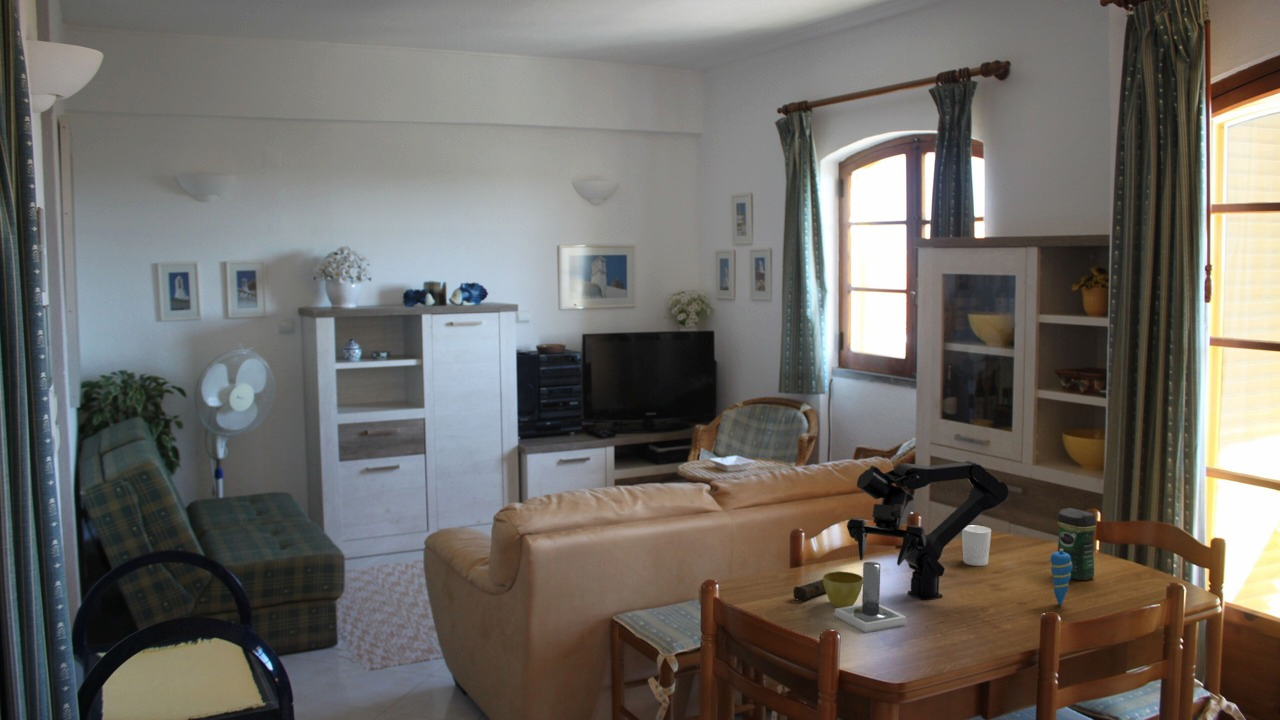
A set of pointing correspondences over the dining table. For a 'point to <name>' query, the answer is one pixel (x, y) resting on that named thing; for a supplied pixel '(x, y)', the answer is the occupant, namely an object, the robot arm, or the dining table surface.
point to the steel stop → (870, 594)
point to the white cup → (976, 545)
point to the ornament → (1061, 573)
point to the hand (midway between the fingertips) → (879, 562)
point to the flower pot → (842, 588)
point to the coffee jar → (1077, 540)
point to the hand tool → (809, 590)
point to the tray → (891, 621)
